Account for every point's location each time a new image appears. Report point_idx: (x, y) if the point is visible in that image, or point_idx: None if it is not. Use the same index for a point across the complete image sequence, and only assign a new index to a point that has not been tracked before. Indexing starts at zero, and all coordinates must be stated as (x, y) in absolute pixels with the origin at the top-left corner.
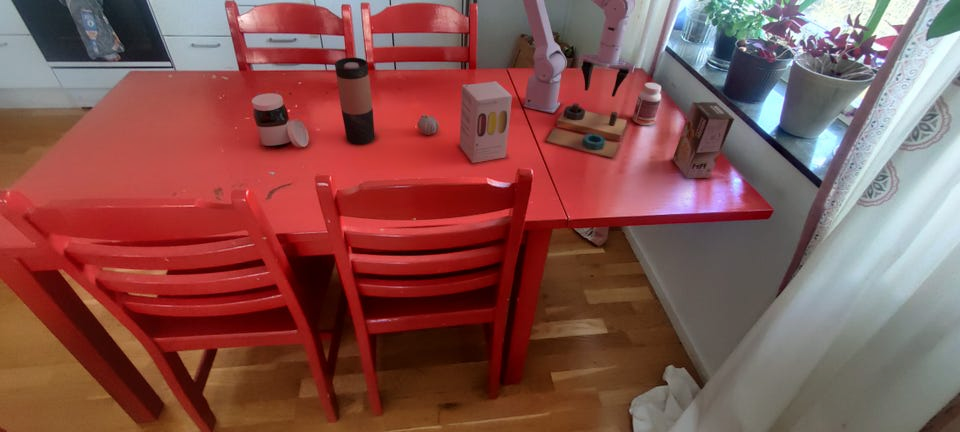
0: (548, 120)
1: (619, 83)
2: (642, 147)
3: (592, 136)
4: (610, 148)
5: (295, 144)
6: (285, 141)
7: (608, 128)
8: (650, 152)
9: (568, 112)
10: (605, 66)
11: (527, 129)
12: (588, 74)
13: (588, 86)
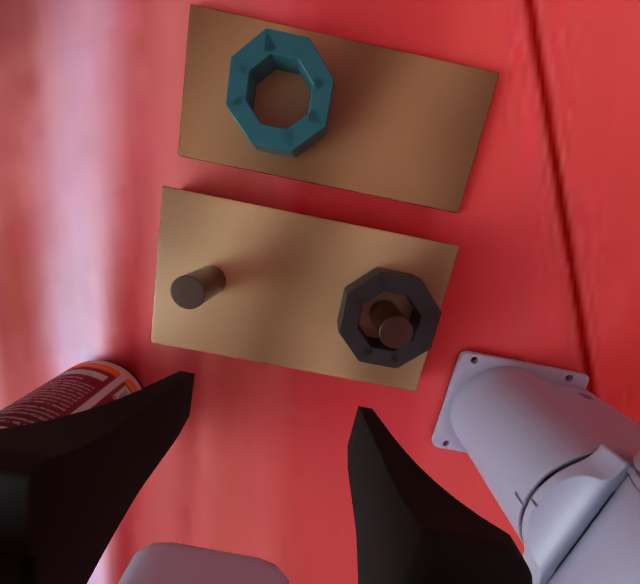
0: (479, 288)
1: (85, 414)
2: (80, 168)
3: (290, 128)
4: (205, 94)
5: None
6: None
7: (222, 235)
8: (42, 133)
9: (421, 284)
10: (171, 561)
11: (575, 174)
12: (401, 490)
13: (355, 439)
